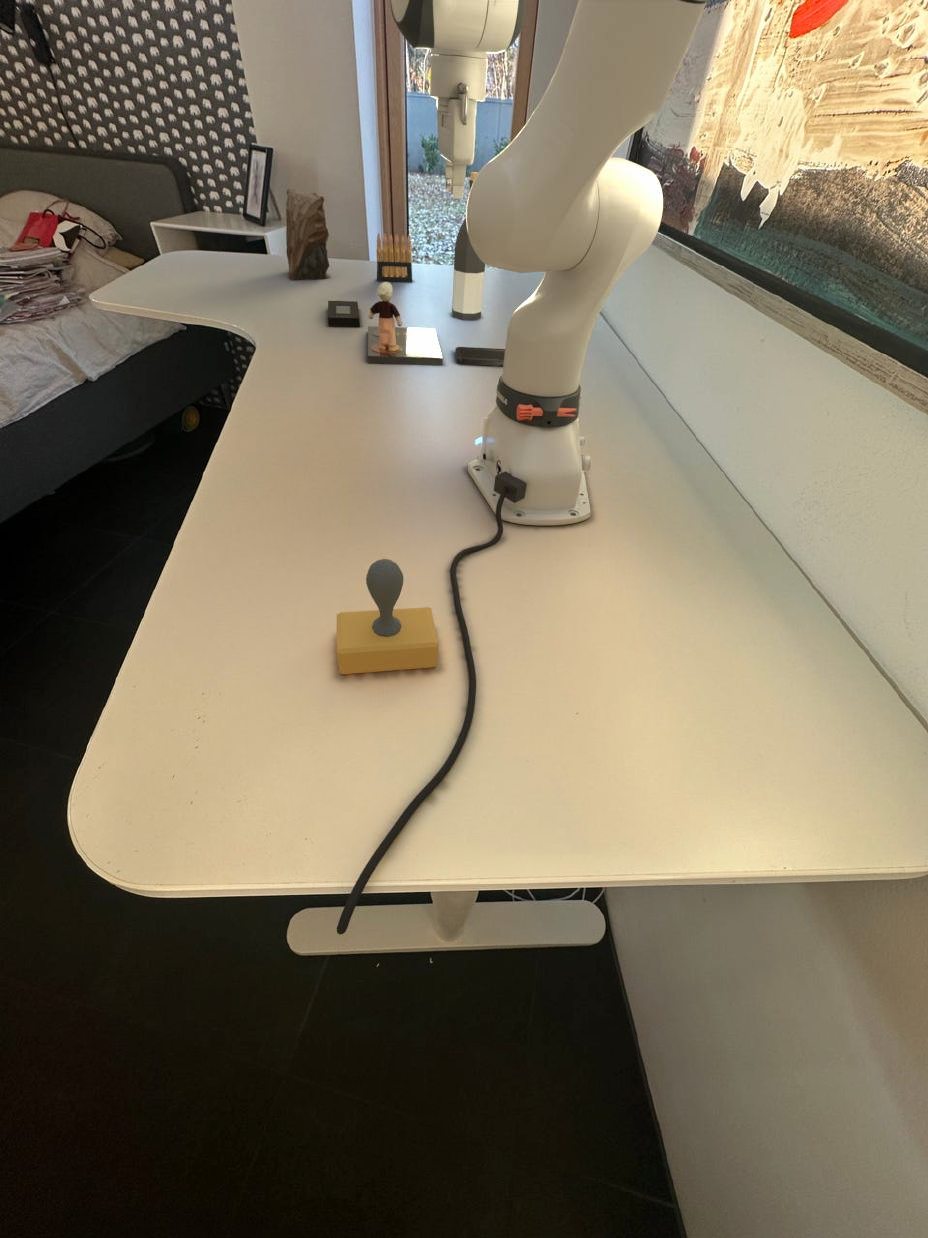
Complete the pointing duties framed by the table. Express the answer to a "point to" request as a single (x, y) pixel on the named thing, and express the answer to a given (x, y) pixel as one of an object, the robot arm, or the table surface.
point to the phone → (480, 356)
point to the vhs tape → (343, 313)
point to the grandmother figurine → (386, 317)
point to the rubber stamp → (385, 629)
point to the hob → (406, 347)
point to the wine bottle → (467, 275)
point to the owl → (306, 236)
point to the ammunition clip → (394, 260)
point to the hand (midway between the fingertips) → (453, 194)
